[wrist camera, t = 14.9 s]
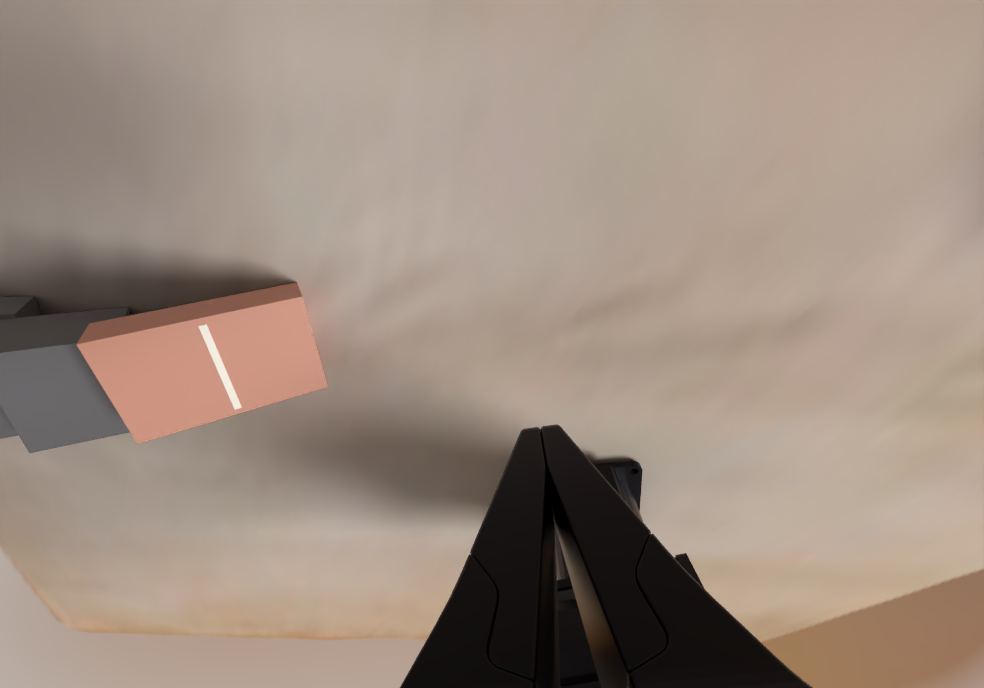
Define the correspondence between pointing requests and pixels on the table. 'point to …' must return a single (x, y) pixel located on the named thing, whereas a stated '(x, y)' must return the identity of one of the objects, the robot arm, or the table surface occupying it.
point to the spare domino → (204, 359)
